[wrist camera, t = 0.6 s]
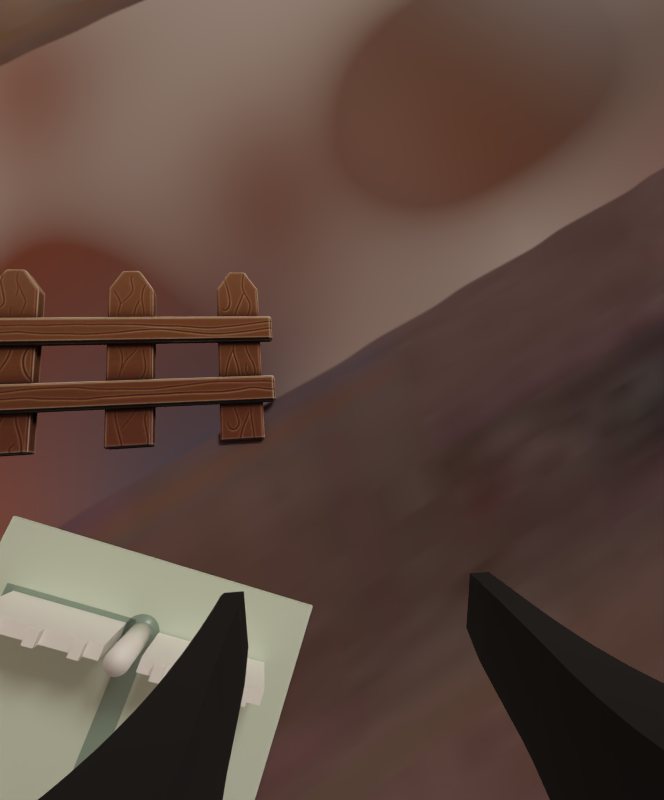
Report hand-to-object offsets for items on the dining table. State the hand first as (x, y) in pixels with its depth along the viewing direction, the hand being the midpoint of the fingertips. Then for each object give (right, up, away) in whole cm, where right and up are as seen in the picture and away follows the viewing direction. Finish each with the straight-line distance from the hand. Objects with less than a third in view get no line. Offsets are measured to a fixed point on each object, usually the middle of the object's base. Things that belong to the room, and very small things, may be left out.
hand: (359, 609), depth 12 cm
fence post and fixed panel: (-19, -9, +15) cm, 26 cm away
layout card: (-16, -14, +15) cm, 26 cm away
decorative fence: (-18, +10, +21) cm, 29 cm away
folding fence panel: (-10, -12, +16) cm, 22 cm away
